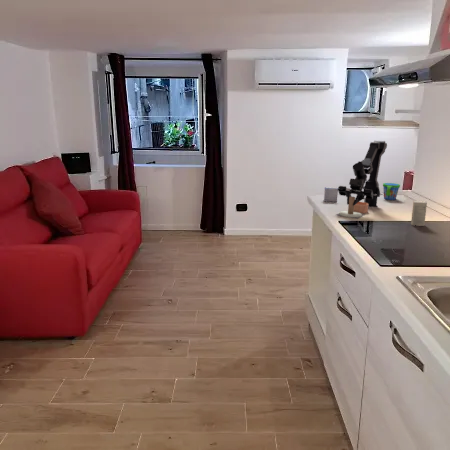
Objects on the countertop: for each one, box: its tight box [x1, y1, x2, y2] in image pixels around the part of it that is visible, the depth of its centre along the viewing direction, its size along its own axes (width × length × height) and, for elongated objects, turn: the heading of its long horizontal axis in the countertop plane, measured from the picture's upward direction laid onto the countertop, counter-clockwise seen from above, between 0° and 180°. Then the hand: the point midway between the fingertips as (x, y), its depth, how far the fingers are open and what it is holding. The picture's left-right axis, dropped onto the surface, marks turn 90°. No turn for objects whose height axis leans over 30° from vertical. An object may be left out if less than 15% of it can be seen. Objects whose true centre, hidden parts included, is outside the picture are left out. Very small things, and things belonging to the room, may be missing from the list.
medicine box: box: [323, 186, 339, 202], centre depth 279 cm, size 8×4×9 cm, turn 84°
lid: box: [338, 196, 363, 219], centre depth 239 cm, size 12×12×10 cm
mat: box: [335, 213, 366, 220], centre depth 241 cm, size 13×13×1 cm
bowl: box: [354, 201, 369, 214], centre depth 251 cm, size 10×10×5 cm
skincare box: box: [410, 200, 428, 227], centre depth 224 cm, size 6×4×12 cm
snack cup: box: [382, 182, 401, 201], centre depth 290 cm, size 16×10×10 cm
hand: (350, 204), depth 238 cm, fingers closed on lid, 3 cm apart
